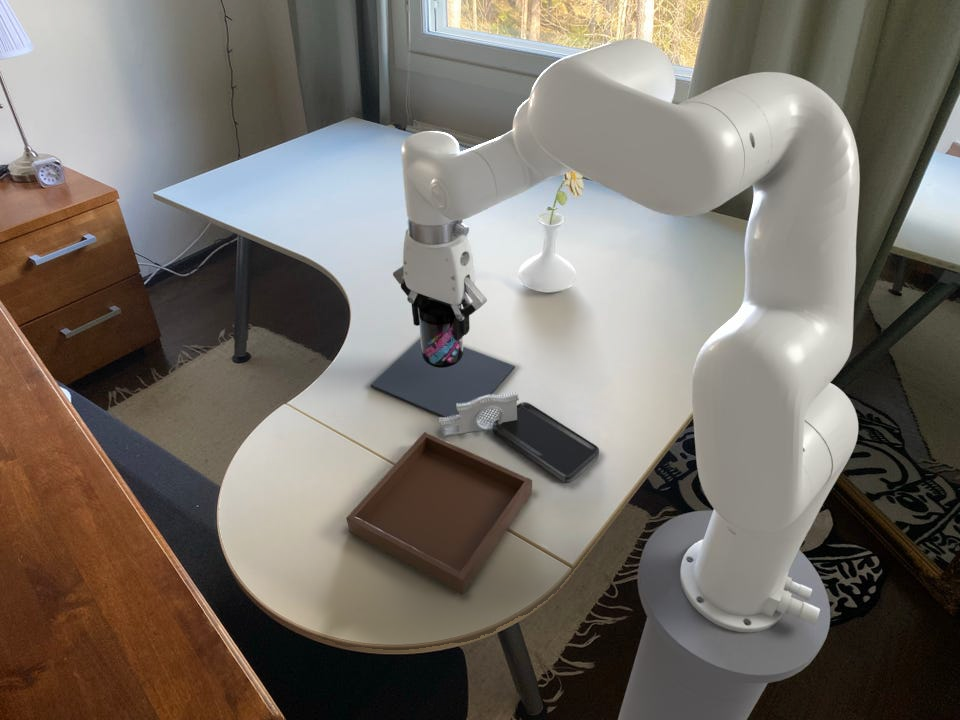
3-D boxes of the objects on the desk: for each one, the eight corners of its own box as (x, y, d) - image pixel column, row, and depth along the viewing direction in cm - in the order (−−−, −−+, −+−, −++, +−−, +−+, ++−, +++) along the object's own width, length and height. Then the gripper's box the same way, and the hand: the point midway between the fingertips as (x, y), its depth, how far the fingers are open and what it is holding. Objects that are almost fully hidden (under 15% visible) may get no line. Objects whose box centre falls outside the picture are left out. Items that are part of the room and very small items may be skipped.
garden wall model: (442, 439, 99) (438, 409, 95) (439, 431, 100) (436, 401, 97) (519, 424, 101) (519, 394, 97) (516, 416, 102) (515, 386, 98)
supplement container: (415, 364, 105) (409, 311, 99) (430, 339, 110) (427, 287, 104) (455, 373, 104) (452, 319, 97) (469, 347, 109) (467, 294, 102)
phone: (524, 400, 104) (602, 449, 95) (523, 405, 104) (601, 454, 96) (489, 426, 99) (567, 480, 91) (489, 431, 100) (567, 485, 92)
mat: (514, 367, 111) (515, 365, 111) (464, 426, 101) (464, 424, 101) (426, 334, 119) (426, 333, 118) (370, 386, 108) (370, 384, 108)
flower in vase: (552, 305, 125) (561, 180, 109) (506, 283, 131) (508, 161, 115) (592, 277, 133) (606, 156, 117) (547, 257, 139) (554, 140, 123)
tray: (531, 493, 91) (532, 479, 89) (463, 594, 79) (462, 580, 78) (425, 445, 98) (424, 431, 96) (348, 531, 86) (345, 517, 85)
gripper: (502, 229, 91) (501, 332, 102) (400, 200, 98) (409, 300, 109) (474, 253, 86) (476, 359, 97) (368, 221, 93) (381, 324, 104)
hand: (441, 327), depth 103 cm, fingers closed on supplement container, 6 cm apart
